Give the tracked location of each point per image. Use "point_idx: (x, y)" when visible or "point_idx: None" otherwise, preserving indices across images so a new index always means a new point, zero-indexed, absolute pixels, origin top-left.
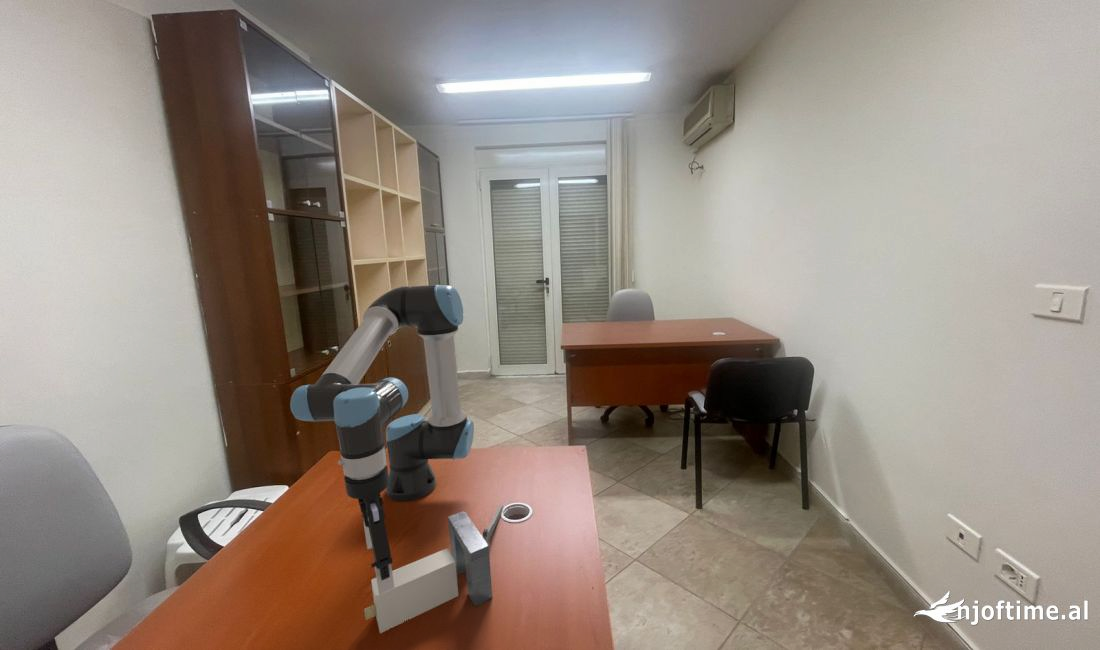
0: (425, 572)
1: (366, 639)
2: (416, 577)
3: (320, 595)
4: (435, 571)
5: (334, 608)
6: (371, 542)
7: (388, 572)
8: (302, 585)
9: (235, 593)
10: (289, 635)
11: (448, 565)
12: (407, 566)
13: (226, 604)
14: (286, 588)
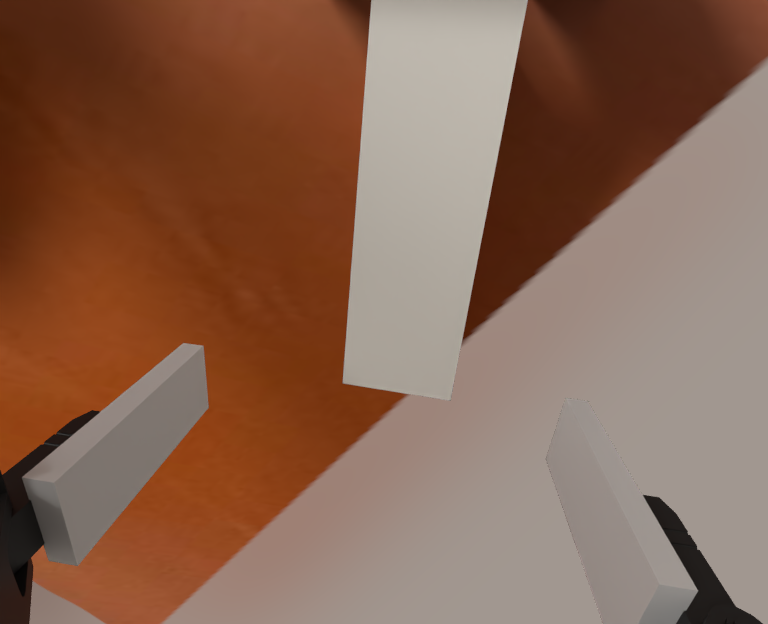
0: (478, 173)
1: None
2: (476, 225)
3: None
4: (502, 118)
5: (270, 391)
6: (189, 408)
7: (687, 540)
8: None
9: None
10: (295, 482)
11: (521, 25)
12: (367, 233)
13: (118, 546)
14: None
